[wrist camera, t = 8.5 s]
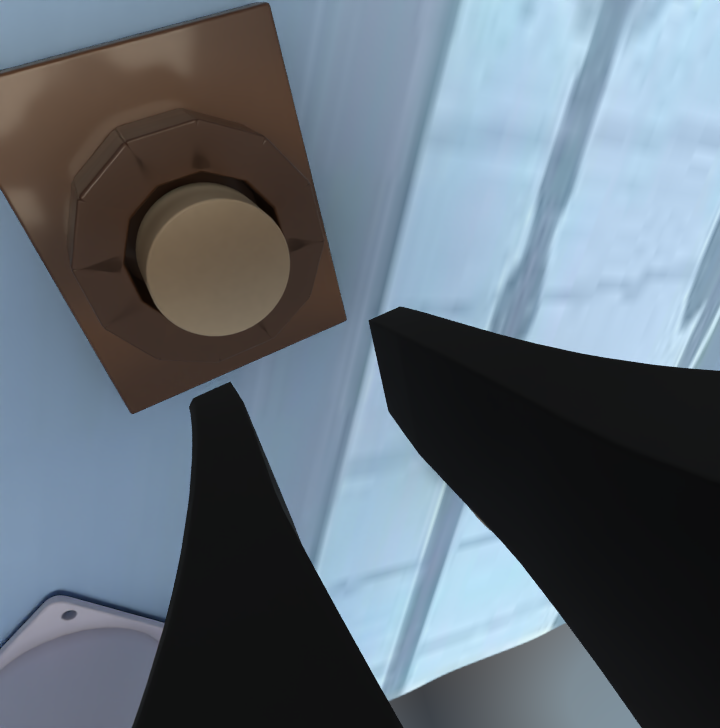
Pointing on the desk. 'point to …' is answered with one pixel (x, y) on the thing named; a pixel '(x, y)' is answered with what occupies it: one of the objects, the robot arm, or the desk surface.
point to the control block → (162, 185)
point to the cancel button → (212, 259)
